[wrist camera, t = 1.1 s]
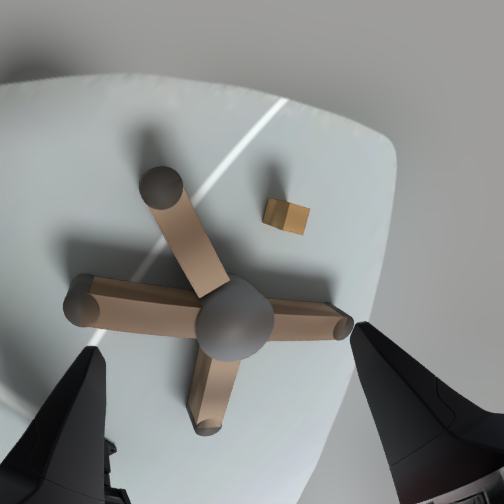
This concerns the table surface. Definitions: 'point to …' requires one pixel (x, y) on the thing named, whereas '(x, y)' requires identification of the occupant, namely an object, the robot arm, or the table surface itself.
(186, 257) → the folding leg
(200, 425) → the stool base
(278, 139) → the table surface
